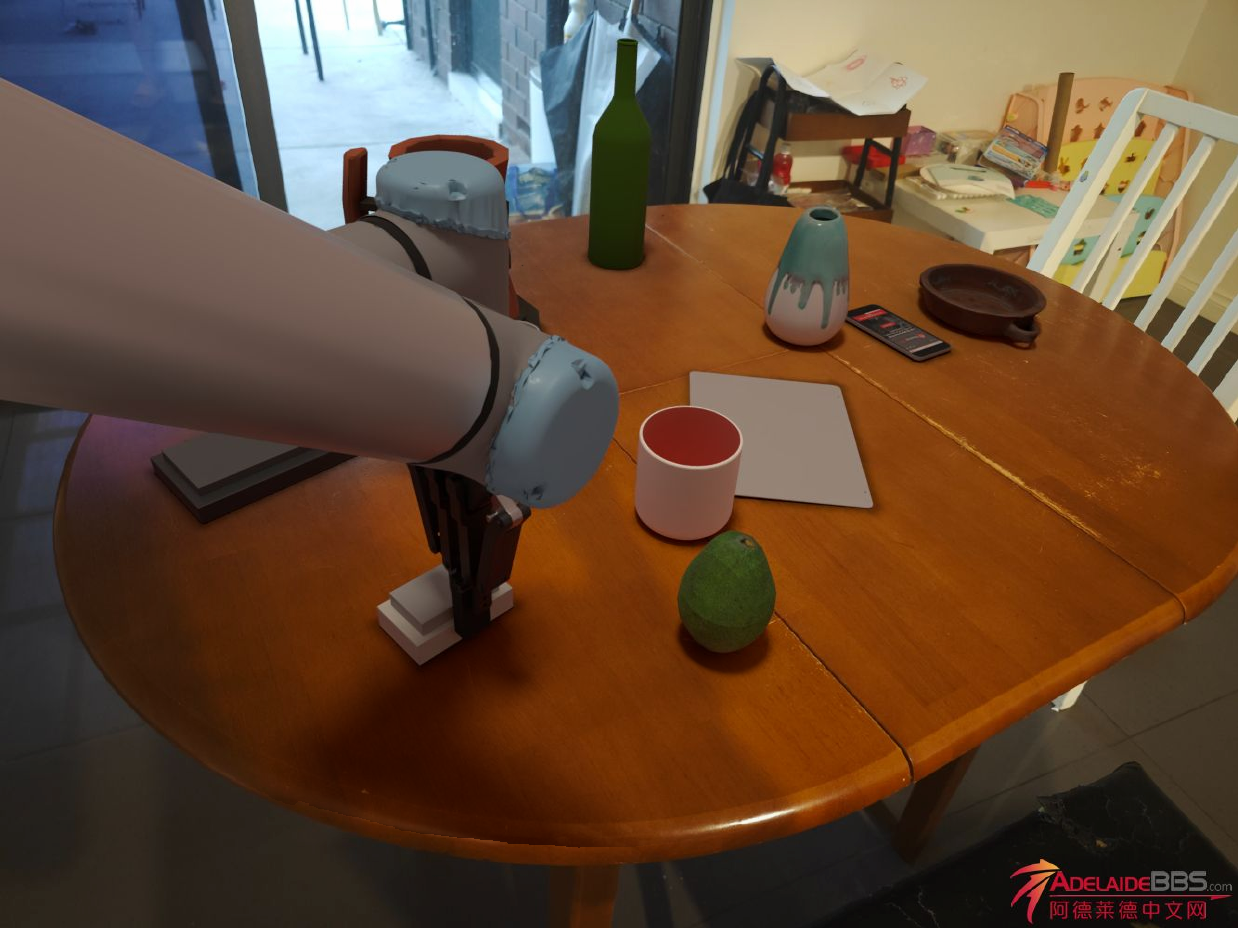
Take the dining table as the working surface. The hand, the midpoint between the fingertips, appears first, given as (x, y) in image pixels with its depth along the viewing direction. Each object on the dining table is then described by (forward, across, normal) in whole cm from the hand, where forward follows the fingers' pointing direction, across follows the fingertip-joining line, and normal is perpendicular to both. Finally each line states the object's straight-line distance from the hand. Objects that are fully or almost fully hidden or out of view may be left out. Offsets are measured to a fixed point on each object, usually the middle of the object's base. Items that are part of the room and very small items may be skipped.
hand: (472, 627), depth 72 cm
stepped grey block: (+2, +4, 0) cm, 4 cm away
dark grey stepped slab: (+2, +35, -3) cm, 35 cm away
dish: (+2, 0, -95) cm, 95 cm away
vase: (+2, +14, -69) cm, 70 cm away
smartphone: (+2, +5, -80) cm, 80 cm away
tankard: (+2, +45, -31) cm, 54 cm away
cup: (+2, -1, -26) cm, 26 cm away
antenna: (+2, +3, -44) cm, 44 cm away
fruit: (+2, -14, -16) cm, 21 cm away
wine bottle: (+2, +49, -66) cm, 83 cm away
